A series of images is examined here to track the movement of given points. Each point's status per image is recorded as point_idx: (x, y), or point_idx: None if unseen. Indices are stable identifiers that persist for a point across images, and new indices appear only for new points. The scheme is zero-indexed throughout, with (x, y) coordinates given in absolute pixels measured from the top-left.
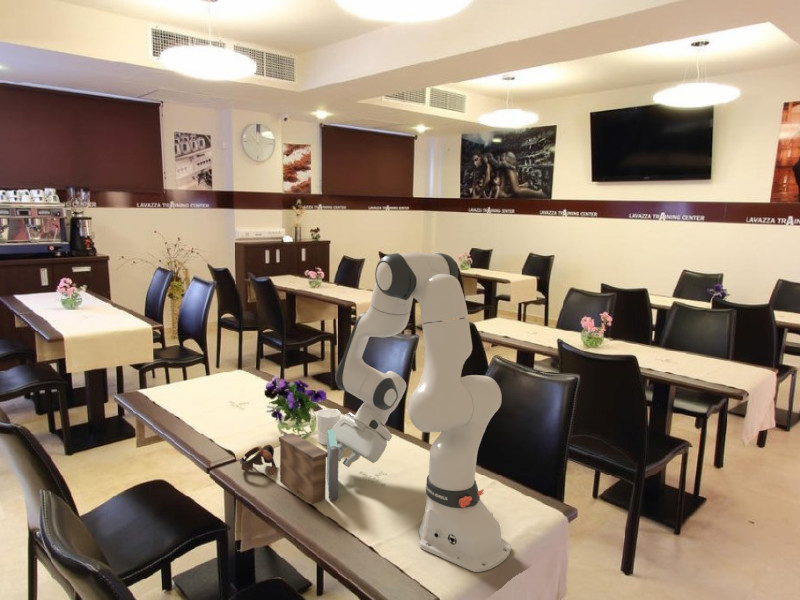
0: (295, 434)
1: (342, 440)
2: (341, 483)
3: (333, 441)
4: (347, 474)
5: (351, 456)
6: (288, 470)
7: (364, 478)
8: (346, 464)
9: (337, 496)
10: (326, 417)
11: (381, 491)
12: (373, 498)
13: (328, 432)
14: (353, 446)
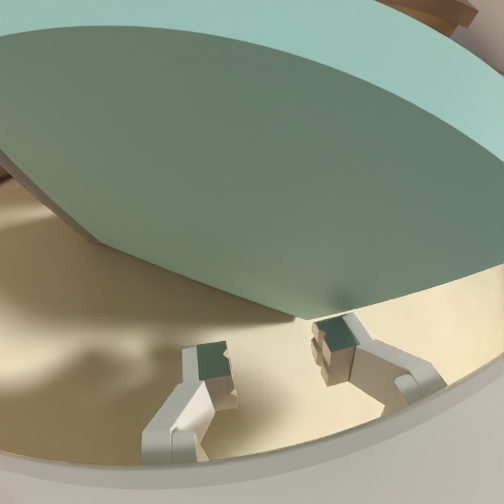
0: (460, 2)
1: (437, 411)
2: (217, 330)
3: (27, 2)
4: (297, 399)
5: (172, 414)
6: None
7: (216, 458)
8: (182, 354)
9: (84, 237)
10: None
11: (70, 450)
12: (34, 386)
13: (467, 53)
14: (198, 489)
